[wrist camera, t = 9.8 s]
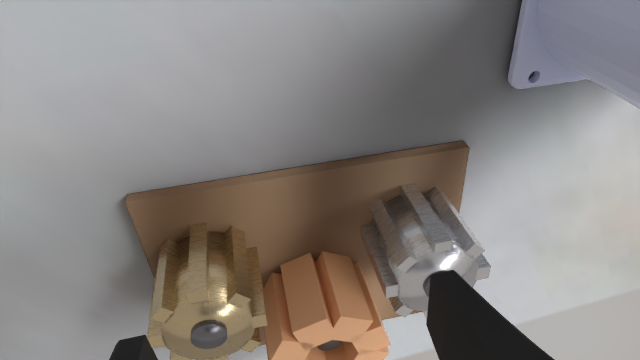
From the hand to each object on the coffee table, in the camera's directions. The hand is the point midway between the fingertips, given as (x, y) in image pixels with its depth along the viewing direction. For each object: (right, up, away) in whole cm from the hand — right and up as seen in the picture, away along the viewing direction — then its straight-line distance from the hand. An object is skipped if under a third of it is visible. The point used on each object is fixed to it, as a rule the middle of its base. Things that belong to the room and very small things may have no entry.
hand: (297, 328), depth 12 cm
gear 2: (+5, +2, +11) cm, 12 cm away
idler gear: (0, -2, +12) cm, 13 cm away
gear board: (0, 0, +12) cm, 12 cm away
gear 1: (-5, 0, +10) cm, 11 cm away
